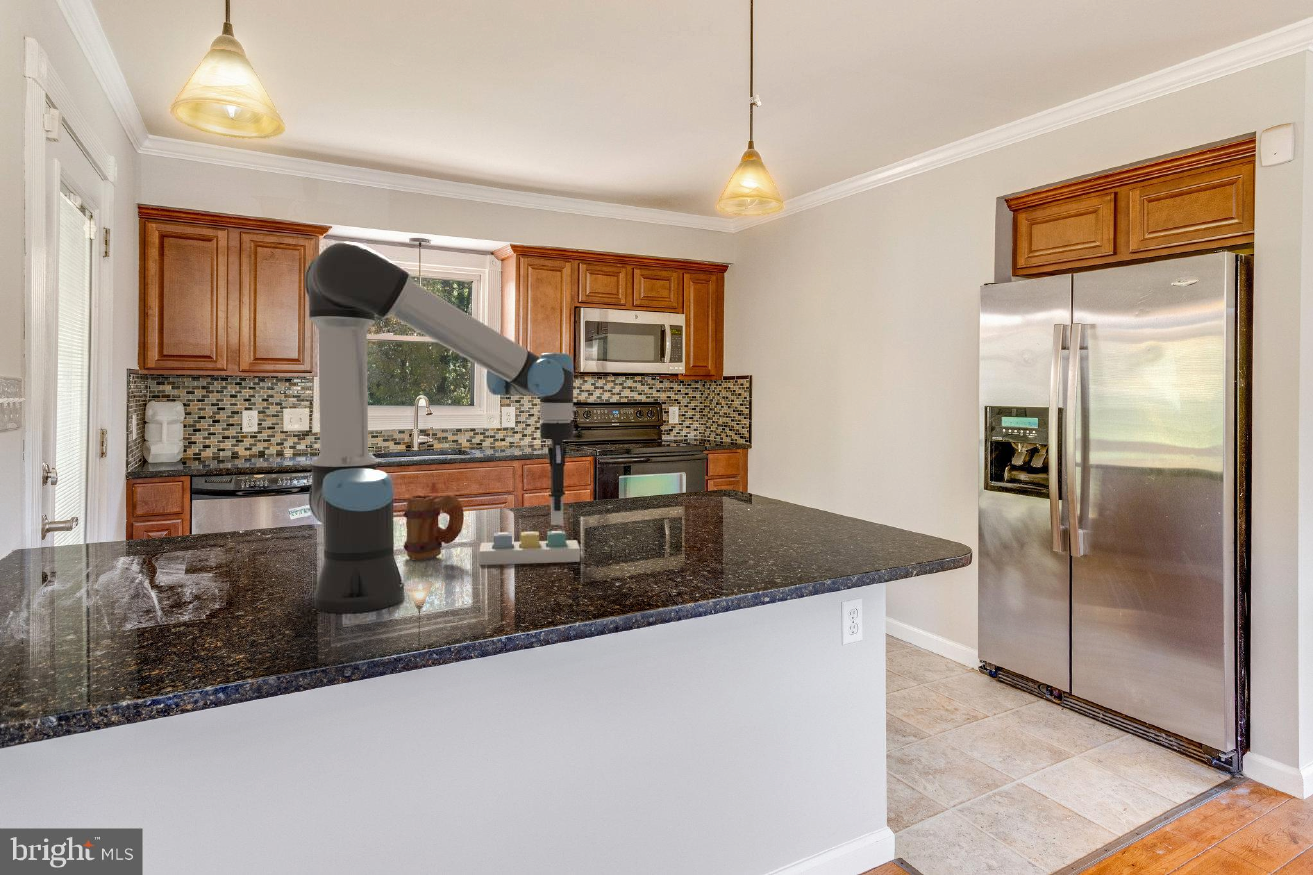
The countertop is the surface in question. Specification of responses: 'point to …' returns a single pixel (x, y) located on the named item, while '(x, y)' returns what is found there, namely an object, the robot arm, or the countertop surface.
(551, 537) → the key
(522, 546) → the key
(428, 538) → the mug
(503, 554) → the keypad
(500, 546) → the key
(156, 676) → the countertop surface
